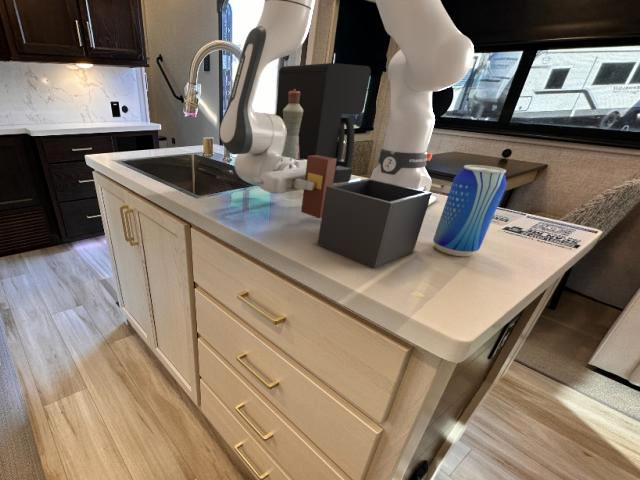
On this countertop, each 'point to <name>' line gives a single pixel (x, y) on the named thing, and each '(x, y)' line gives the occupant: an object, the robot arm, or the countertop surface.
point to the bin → (372, 220)
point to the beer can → (469, 209)
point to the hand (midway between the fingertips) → (321, 185)
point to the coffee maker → (326, 108)
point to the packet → (323, 175)
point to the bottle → (292, 125)
